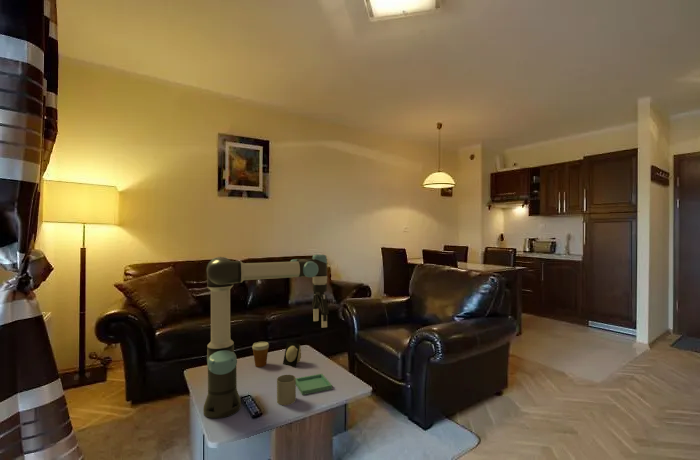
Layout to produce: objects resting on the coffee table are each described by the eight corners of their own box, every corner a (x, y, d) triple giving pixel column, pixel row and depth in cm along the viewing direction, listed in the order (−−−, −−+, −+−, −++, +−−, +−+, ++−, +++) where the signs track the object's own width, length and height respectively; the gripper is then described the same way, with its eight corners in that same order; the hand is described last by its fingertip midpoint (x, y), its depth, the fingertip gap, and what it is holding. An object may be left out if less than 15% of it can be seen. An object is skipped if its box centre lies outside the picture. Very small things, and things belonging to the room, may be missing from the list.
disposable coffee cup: (251, 362, 197) (251, 342, 197) (268, 361, 200) (268, 340, 200) (252, 369, 188) (252, 347, 188) (269, 367, 191) (269, 345, 191)
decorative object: (291, 363, 201) (304, 367, 196) (279, 364, 193) (292, 368, 188) (295, 341, 205) (307, 344, 199) (283, 341, 196) (296, 344, 191)
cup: (291, 406, 148) (291, 383, 148) (273, 404, 150) (273, 381, 150) (298, 396, 156) (298, 375, 156) (281, 395, 158) (281, 373, 158)
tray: (302, 395, 158) (302, 391, 158) (294, 382, 172) (294, 378, 172) (332, 388, 164) (332, 385, 164) (322, 376, 178) (322, 373, 178)
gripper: (335, 286, 168) (335, 329, 168) (319, 280, 191) (319, 317, 191) (320, 287, 165) (321, 331, 165) (306, 281, 188) (306, 319, 188)
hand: (320, 324), depth 178 cm, fingers open, 13 cm apart
